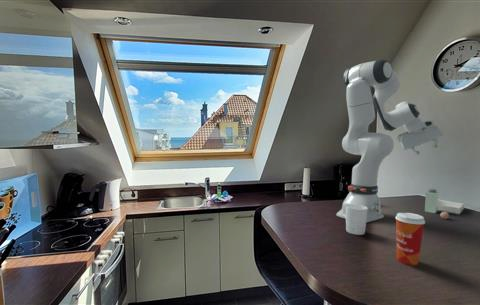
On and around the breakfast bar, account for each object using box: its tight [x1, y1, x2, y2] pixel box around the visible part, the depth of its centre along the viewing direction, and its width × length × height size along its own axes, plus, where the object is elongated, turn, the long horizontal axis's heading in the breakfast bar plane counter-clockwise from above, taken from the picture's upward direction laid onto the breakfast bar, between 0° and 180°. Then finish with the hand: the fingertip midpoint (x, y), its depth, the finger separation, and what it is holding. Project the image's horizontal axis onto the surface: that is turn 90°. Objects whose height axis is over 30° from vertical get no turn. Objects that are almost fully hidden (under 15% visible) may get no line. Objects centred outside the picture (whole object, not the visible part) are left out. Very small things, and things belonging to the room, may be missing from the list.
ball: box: [440, 211, 450, 220], centre depth 126 cm, size 3×3×3 cm
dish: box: [437, 199, 465, 215], centre depth 143 cm, size 14×12×3 cm
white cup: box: [345, 204, 368, 236], centre depth 106 cm, size 8×8×10 cm
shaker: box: [424, 188, 440, 214], centre depth 137 cm, size 4×4×11 cm
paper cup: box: [395, 212, 426, 266], centre depth 82 cm, size 8×8×14 cm
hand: (427, 151), depth 148 cm, fingers open, 8 cm apart
